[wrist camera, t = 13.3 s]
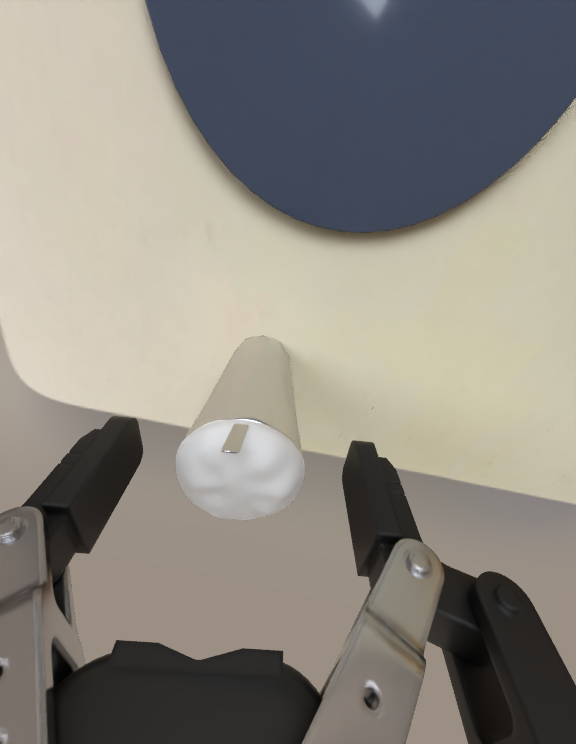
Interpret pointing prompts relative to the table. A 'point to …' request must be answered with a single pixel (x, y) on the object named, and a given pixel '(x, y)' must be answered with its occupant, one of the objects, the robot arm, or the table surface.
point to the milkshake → (245, 438)
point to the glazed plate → (369, 97)
